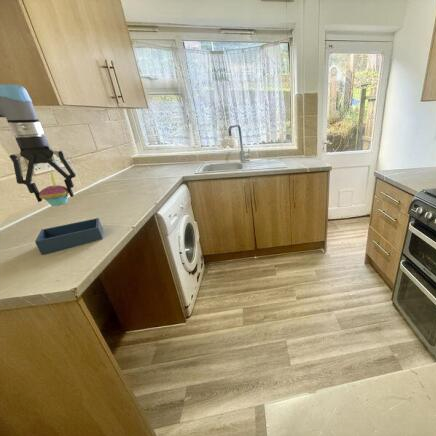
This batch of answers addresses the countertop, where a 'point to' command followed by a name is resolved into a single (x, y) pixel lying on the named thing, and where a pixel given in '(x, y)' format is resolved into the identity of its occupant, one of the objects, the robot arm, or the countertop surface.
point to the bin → (69, 235)
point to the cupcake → (54, 194)
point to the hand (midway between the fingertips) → (56, 198)
